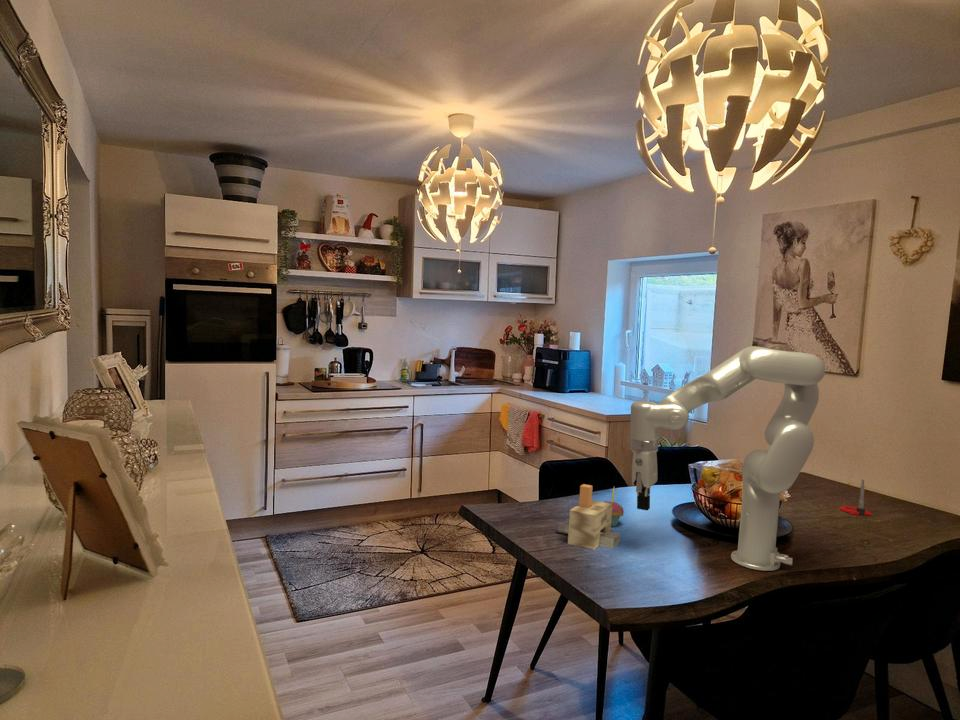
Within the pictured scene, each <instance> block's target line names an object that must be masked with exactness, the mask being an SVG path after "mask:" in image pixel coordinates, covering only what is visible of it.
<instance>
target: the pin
mask: <svg viewBox="0 0 960 720" xmlns="http://www.w3.org/2000/svg"><path fill="white" fill-rule="evenodd" d="M568 532H569V523H568V524H567V523H563V522H559V524H558V525H557V533H558V534H561V535H562V534H563V535H567V536H568ZM620 536H621V532H616V531H608V530H607V531H606V532H604V533H603V532H600V544H599V546H600V547H604V548H607V549H612V550H613V549H615V548H616V547H617V546H618V545H620V543H621V542H620V541H621V537H620Z"/></svg>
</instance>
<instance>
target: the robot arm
mask: <svg viewBox="0 0 960 720" xmlns="http://www.w3.org/2000/svg"><path fill="white" fill-rule="evenodd" d="M825 374H826V366H825V364H824V362H823V360H822V359H821V358H820V357H819V356H817V355H815V354H812V353H806V352H801V351H786V350H779V349H773V348H768V347H763V346H756V345H751V346H747V347H745V348H743V349H742V350H739V351H738V352H736V353H735V354H733V355H732V356H730V357H729V358H728V359H726V360H724V361H723V362H721V363H720V364H719V365H717V366H715V367H714V368H712V369H711V370H710V371H708V372H706V373H704V374H702V375H700V376H698V377H697V378H695V379H693V380H691V381H689V382H687V383H686V384H684V385H682V386H680V387H678V388H677V389H676V390H673V392H671V393H669V394H668V395H667V396H665V397H663V398H662V399H661V400H659V402H658V403H656V402H653V401H649V400H648V401H647V400H638V401H634V402H633V403H631V405H630V448H629V449H630V451H631V452H632V461H631V462H632V464H631V484H632V486H633V487H635V492H636V509H637V510H642V511H649V510H650V508H651V487H653V486H654V485H655V484H656V483H657V482H658V458H657V457H658V456H657V452H659V428H660V429H665V430H670V431H671V430H672V431H673V430H674V431H675V430H676V431H677V430H680V429H683V428H684V427H685V426H686V425H688V422H689V419H690V418H689V417H690V416H689V413H690V412H692V411H693V410H695V409H696V408H699V407H701V406H703V405H706V404H709V403H713V402H714V403H715V402H719V401H722V400H726V399H727V398H728V397H729V398H730V396H732V395H733V394H735V393H736V392H738V391H739V390H741V389H743V387H746V386H747V385H748V384H750V383H752V382H753V381H755V380H759V381H760V380H761V381H766V382H772V383H778V384H783V385H784V392H783V395H782V398H781V400H780V402H779V405H778V406H777V408H776V409H775V411H774V413H773V415H772V416H771V419H770V420H769V421H768V423H767V424H766V427H765V430H764V440H765V441H766V443H767V444H768V445H769V448H768V450H766V449H756V450H755V449H754V450H752V451H750V452H749V453H748V454H747V455H746V456H745V457H744V459H743V463H742V468H741V477H742V495H741V496H742V497H741V507H740V519H739V530H738V542H737V550H734V551H732V552H731V554H730V558H731V560H732V561H733V562H734V563H736V564H737V565H739V566H741V567H745V568H748V569H752V570H756V571H764V572H767V571H768V572H769V571H777V570H778V569H780V567H781V564H784V565H789V566H793V557H790V556H789V554H784V553H780V552H779V551H778V547H776V546H777V545H776V544H777V533H778V523H779V511H780V502H781V501H780V494H782V493H784V492H787V491H788V490H789V489H790V488H791V487H792V485H793V484H794V483H795V481H796V480H797V478H798V477H799V474H800V473H801V471H802V470H803V468H804V466H805V464H806V462H807V461H808V459H809V458H810V455H811V453H812V451H813V449H814V443H815V437H814V434H813V432H812V430H811V428H810V427H809V426H808V425H809V423H810V421H811V419H812V417H813V415H814V413H815V410H816V409H817V407H818V403H819V397H820V389H819V383H820V382H821V381H822V380H823V378H824V377H825Z"/></svg>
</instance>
